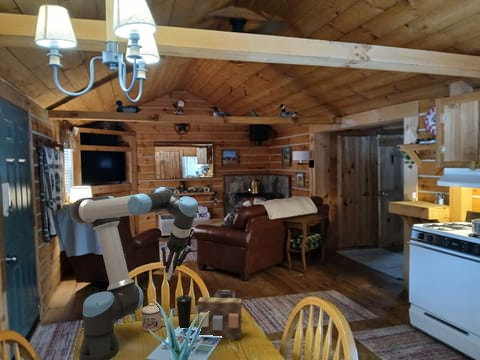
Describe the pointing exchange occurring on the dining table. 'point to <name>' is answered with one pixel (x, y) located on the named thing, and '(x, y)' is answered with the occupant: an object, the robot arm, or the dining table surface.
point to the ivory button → (206, 322)
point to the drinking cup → (184, 309)
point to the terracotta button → (233, 320)
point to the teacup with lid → (151, 318)
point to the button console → (221, 308)
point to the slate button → (218, 322)
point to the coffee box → (225, 293)
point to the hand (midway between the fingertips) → (167, 277)
